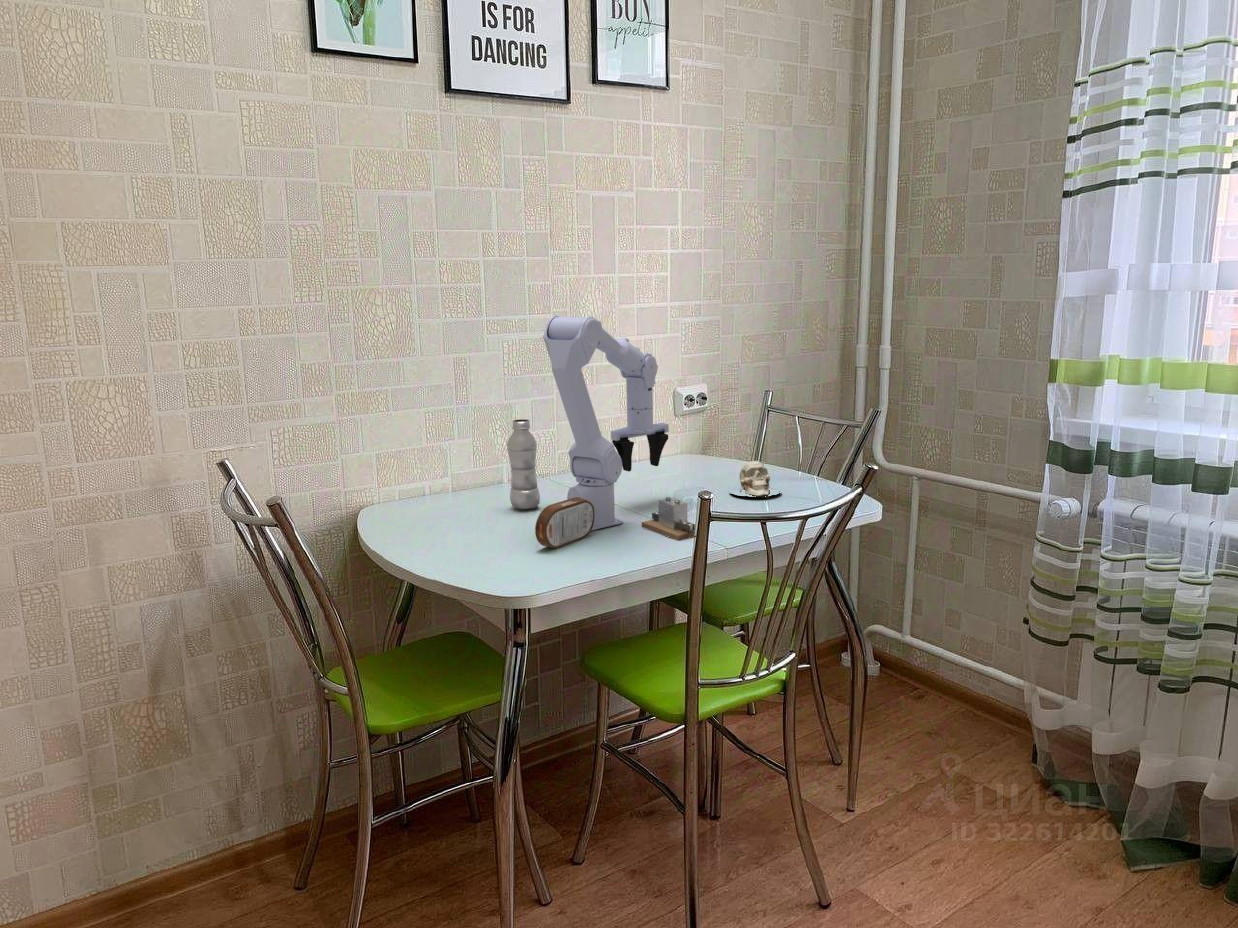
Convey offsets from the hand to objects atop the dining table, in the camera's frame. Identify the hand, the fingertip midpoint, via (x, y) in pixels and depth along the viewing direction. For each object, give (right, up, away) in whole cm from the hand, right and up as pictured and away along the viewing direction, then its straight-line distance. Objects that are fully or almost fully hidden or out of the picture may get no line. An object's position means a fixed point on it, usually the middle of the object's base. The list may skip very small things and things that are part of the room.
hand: (640, 467), depth 205 cm
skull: (+27, -6, +9) cm, 29 cm away
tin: (-15, -15, -24) cm, 32 cm away
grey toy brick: (+6, -12, -18) cm, 22 cm away
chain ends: (+6, -13, -18) cm, 23 cm away
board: (+6, -13, -18) cm, 23 cm away
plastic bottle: (-26, -9, +1) cm, 27 cm away
